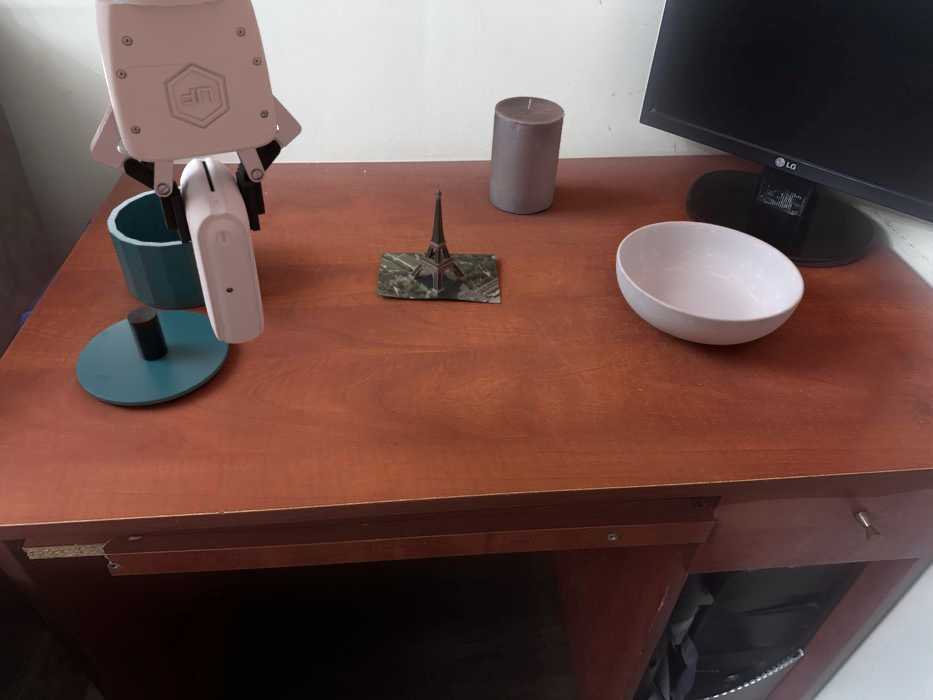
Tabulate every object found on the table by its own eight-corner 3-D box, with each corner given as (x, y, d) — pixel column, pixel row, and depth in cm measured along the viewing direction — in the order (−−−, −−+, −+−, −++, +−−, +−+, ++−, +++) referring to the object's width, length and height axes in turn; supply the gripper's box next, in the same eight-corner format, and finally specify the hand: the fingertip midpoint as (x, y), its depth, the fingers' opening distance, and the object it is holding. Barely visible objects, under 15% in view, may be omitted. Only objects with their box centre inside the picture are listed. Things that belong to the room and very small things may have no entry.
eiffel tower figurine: (496, 257, 93) (503, 162, 84) (500, 303, 85) (509, 203, 77) (382, 255, 92) (377, 159, 84) (375, 300, 85) (369, 200, 76)
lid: (85, 428, 67) (64, 381, 63) (73, 338, 77) (55, 292, 73) (244, 384, 73) (234, 338, 69) (214, 305, 83) (203, 260, 79)
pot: (136, 321, 80) (115, 257, 74) (121, 258, 90) (101, 198, 84) (260, 292, 85) (248, 230, 80) (233, 236, 95) (221, 177, 89)
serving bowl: (823, 337, 82) (846, 288, 78) (688, 393, 74) (705, 342, 70) (698, 250, 96) (711, 205, 92) (572, 290, 88) (580, 242, 83)
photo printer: (271, 339, 57) (249, 199, 49) (215, 350, 55) (184, 207, 47) (249, 272, 64) (227, 140, 56) (199, 280, 62) (170, 146, 55)
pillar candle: (494, 180, 110) (500, 83, 100) (556, 188, 109) (569, 91, 99) (482, 210, 102) (488, 108, 93) (549, 219, 101) (562, 117, 92)
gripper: (10, -12, 37) (104, 277, 49) (320, -28, 44) (339, 231, 55) (9, -42, 43) (95, 226, 54) (286, -52, 49) (310, 190, 60)
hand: (217, 226), depth 55 cm, fingers closed on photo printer, 4 cm apart
